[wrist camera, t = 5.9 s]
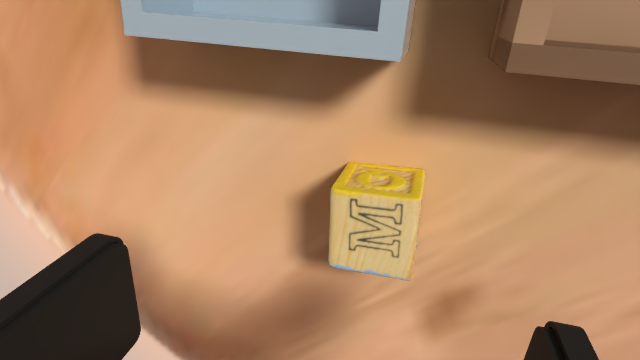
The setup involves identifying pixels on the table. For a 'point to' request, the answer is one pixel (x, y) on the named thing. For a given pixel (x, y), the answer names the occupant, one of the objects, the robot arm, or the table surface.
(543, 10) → the walnut box
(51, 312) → the robot arm
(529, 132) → the table surface
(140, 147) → the table surface
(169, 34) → the slate box
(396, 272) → the alphabet block
